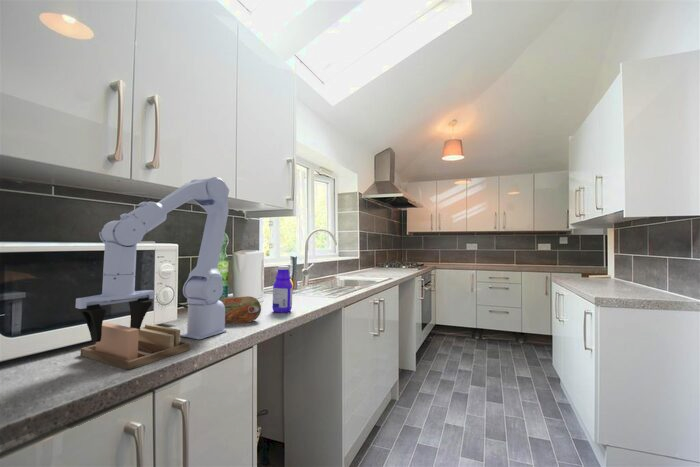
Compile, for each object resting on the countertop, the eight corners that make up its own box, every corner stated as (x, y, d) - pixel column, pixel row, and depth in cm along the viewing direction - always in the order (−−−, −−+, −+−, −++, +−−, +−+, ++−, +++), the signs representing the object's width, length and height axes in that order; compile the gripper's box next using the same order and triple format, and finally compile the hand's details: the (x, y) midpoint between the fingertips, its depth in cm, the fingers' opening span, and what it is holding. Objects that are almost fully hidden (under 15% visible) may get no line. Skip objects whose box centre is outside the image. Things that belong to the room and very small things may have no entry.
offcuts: (147, 341, 79) (147, 323, 79) (182, 349, 73) (183, 330, 73) (133, 345, 76) (134, 326, 76) (169, 353, 70) (170, 334, 70)
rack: (143, 338, 81) (143, 333, 81) (190, 349, 73) (190, 343, 74) (80, 355, 69) (80, 348, 69) (128, 369, 61) (129, 362, 61)
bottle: (294, 310, 119) (295, 265, 120) (287, 313, 113) (288, 266, 114) (276, 309, 120) (277, 265, 121) (269, 312, 115) (271, 266, 116)
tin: (210, 324, 96) (211, 298, 97) (212, 322, 99) (213, 296, 100) (260, 322, 101) (261, 296, 101) (260, 320, 104) (261, 295, 104)
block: (105, 353, 70) (106, 322, 71) (137, 362, 65) (138, 329, 66) (95, 356, 69) (96, 324, 69) (127, 365, 64) (128, 331, 64)
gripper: (142, 271, 76) (139, 326, 75) (69, 275, 63) (65, 342, 62) (160, 272, 73) (158, 330, 72) (87, 277, 60) (83, 348, 59)
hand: (116, 336), depth 67 cm, fingers open, 7 cm apart
